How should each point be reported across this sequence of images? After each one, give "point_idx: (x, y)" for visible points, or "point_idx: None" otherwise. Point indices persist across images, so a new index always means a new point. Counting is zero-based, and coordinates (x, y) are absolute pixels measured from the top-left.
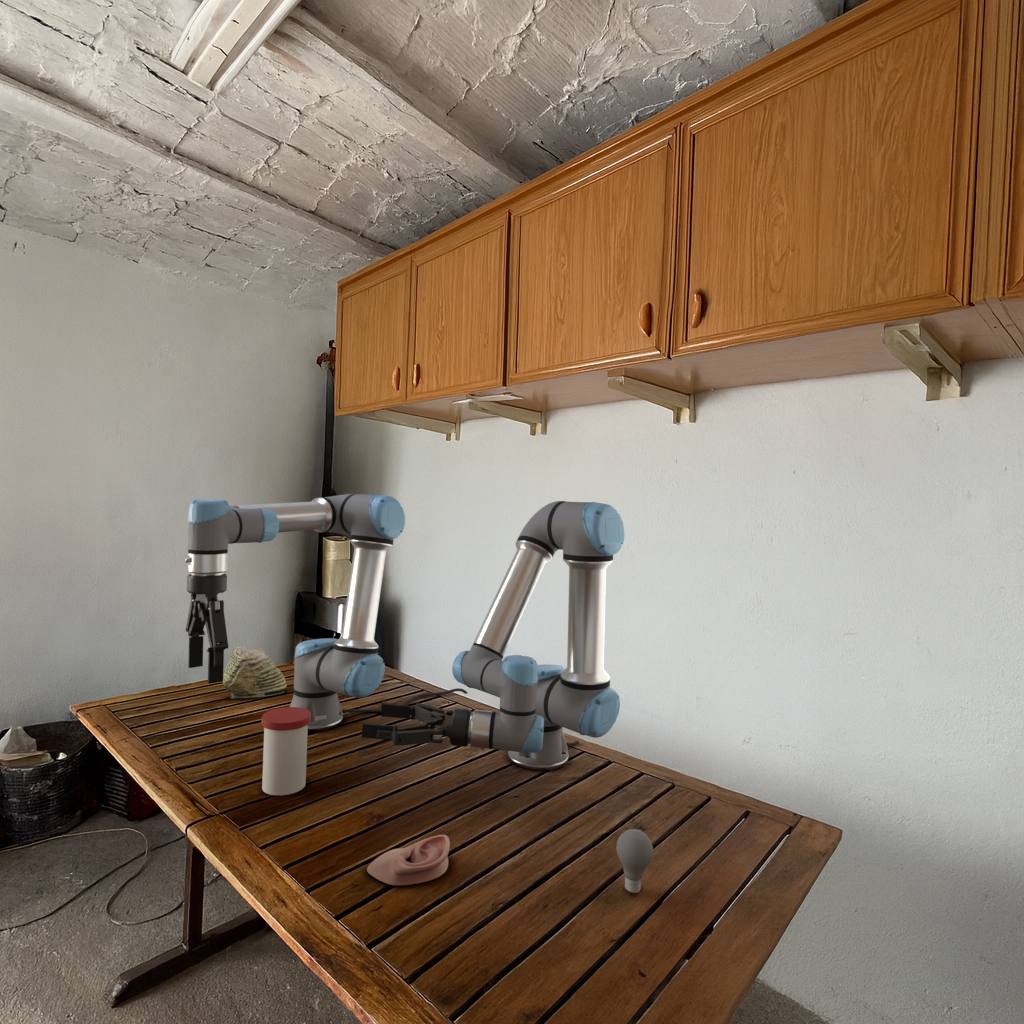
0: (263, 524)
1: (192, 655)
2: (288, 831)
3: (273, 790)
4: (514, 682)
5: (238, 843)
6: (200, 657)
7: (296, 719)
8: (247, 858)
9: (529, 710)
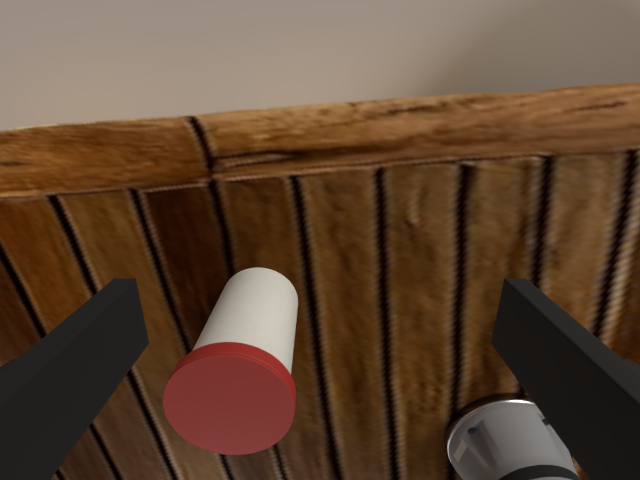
0: None
1: (547, 339)
2: (89, 249)
3: (232, 279)
4: None
5: (82, 171)
6: (522, 369)
7: (178, 414)
8: (25, 167)
9: None
